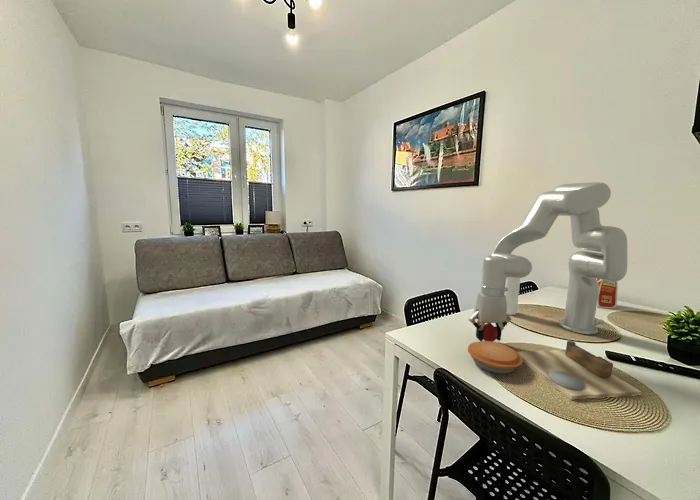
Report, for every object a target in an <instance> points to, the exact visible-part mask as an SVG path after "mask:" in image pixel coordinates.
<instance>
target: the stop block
mask: <svg viewBox="0 0 700 500" xmlns="http://www.w3.org/2000/svg"><path fill="white" fill-rule="evenodd" d="M597 357H598V358H600V359H602V360H604V361H606V362H608V363H609V364H611V365H612V369H611V374H612V373H613V369H614V363H613V362H611V361H609V360H607V359H605V358H604V357H601V356H597ZM612 375H613V374H612ZM610 376H611V375H610Z"/></svg>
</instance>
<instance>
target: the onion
mask: <svg viewBox="0 0 700 500" xmlns="http://www.w3.org/2000/svg"><path fill="white" fill-rule="evenodd" d="M482 330H483V331H484V333H483V341H491V342H495V341H496V340H497V336H498V332H497V329H496V328H495V325H493V323H485V325H484V327H483V329H482Z"/></svg>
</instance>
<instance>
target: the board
mask: <svg viewBox="0 0 700 500" xmlns="http://www.w3.org/2000/svg"><path fill="white" fill-rule="evenodd" d="M517 352H518V353H519V354H520V355H521V356H522V358H523V362H522V363H523V364H525V365H526V366H527V367H529V368H530V369H531V370H532V371H533V372H535V374H537V375H539V376H540V377H541V378H543V379H544V380H545V381H546V382H548V383H549V385H551V386H553V387H554V388H555V389H556V390H558V392H560V393H561V394H563V396H565V397H567V398H568V399H569V400H570V401H576V400H575V399H580V400H587V399H586V398H596V399H604V398H603V397H613V398H620V397H619V396H629V397H633V396H632V395H641V396H642V391H641V390H639V389H637V388H636V387H634V386H633V385H631V384H629V383H627V382H626V381H624V380H622V379H620V378H619V377H617V376H616V375H614V374H611V376H610V377H608V378H602V377H600V376H599V375H597V374H595V373H594V372H592V371H590V370H589V369H587V368H586V367H584V366H582V365H581V364H579V363H577V362H576V361H574V360H573V359H571V358H569V357H568V356H566V355H565V353H566V349H551V350H550V349H549V350H529V351H527V350H525V351H517ZM553 371H561V372H565V373H569V374H571V375H574V376H576V377H578V378H579V379H581V380H582V381H583V382H584V384H585V388H584V389H582V390H572V389H568V388H565V387H562V386H560V385H558V384H556V383H554V382H553V381H552V380H551V379H550V378H549V373H550V372H553Z"/></svg>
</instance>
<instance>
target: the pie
mask: <svg viewBox="0 0 700 500" xmlns="http://www.w3.org/2000/svg"><path fill="white" fill-rule="evenodd" d="M467 352H468V353H469V355H470V356H471V359H472V360H473V362H474V363H475V365H477V367H478V368H481V369H482V370H485V371H487V372H489V373H494V374H498V375H499V374H509V373H512V372H513V371H514V370H515V369H516V368H518V367H520V366H521V365H523V363H524V362H523V358H522V356H521V355H520V354H519V353H518V352H519V351H517V350H514V349H513V348H511V347H510V346H508V345H506V344H503V343H500V342H497V341H496V342H495V341H493V342H491V341H484V340H483V341H480V340H479V341H474V342H472V343H470V344H469V345H468V346H467Z"/></svg>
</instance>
